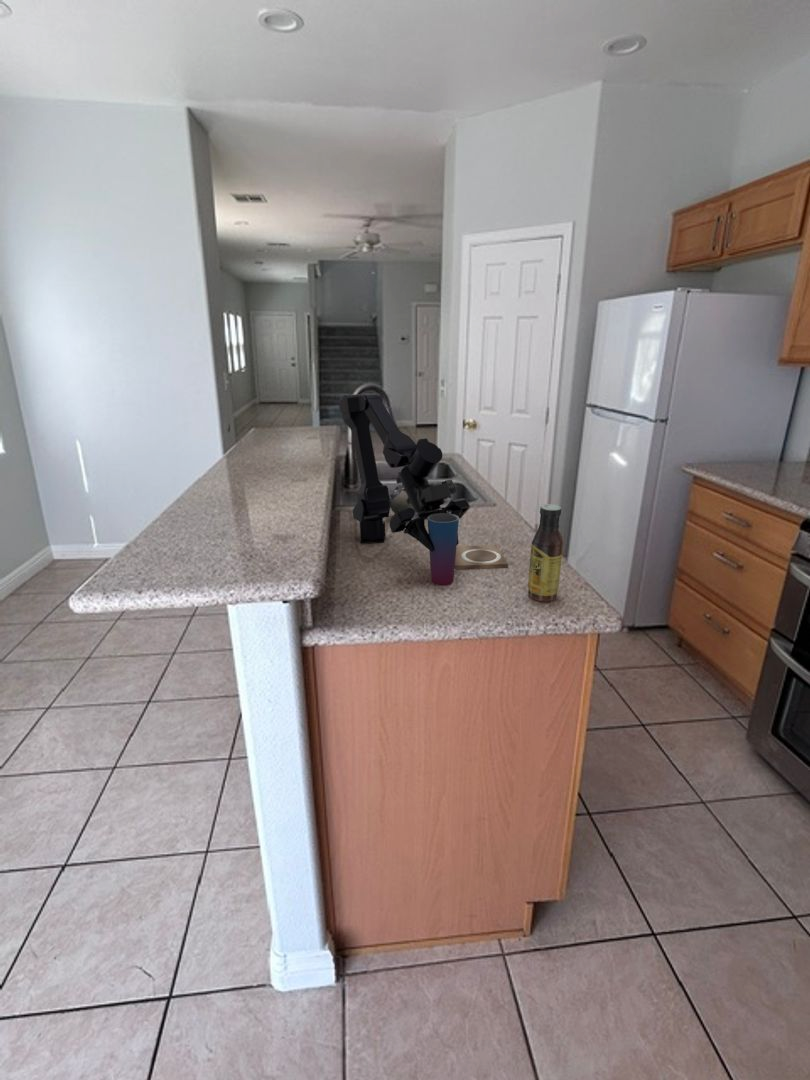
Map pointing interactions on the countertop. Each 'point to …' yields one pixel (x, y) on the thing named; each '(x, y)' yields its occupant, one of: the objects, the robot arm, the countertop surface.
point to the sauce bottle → (546, 556)
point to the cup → (443, 547)
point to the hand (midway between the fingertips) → (445, 547)
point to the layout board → (479, 557)
